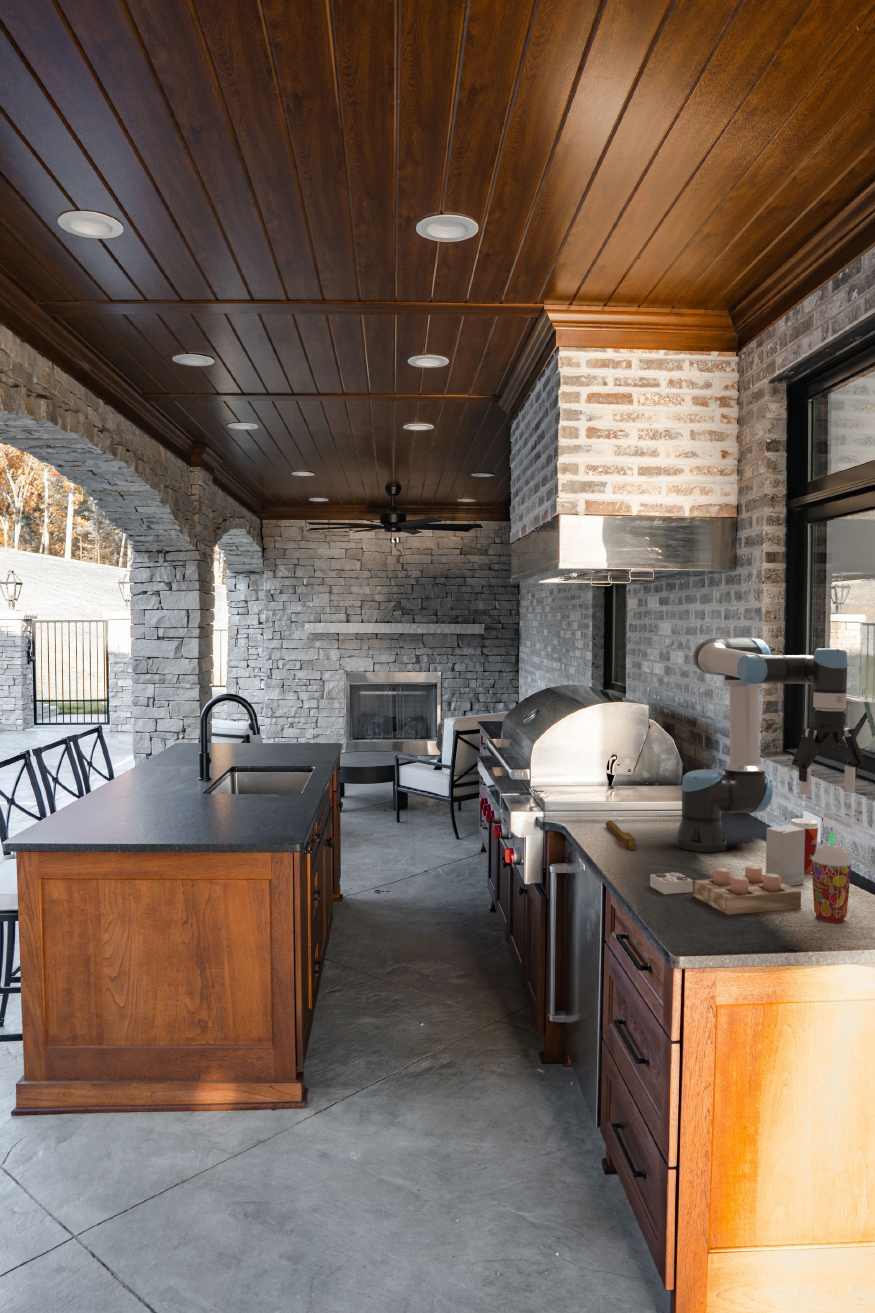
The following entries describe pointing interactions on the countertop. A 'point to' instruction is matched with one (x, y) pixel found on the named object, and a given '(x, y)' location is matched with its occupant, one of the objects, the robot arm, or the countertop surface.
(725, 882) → the button
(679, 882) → the white flat block
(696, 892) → the board
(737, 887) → the button
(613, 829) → the tap handle
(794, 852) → the skincare box
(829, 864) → the smoothie
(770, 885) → the button
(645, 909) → the countertop surface
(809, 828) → the paper cup
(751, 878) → the button
